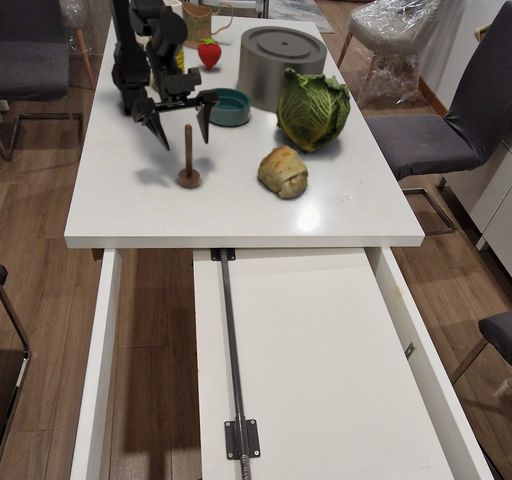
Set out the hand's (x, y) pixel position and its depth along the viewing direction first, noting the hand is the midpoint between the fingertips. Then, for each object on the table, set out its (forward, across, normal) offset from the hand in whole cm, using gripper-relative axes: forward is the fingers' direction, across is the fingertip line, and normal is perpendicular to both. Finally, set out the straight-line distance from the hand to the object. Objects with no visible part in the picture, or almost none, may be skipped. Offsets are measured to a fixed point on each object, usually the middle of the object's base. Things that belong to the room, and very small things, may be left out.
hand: (188, 147), depth 93 cm
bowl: (-12, +23, +24) cm, 35 cm away
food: (-26, +14, +38) cm, 48 cm away
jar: (-41, +13, +53) cm, 68 cm away
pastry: (+12, +21, 0) cm, 24 cm away
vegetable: (+2, +38, +11) cm, 39 cm away
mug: (-45, +39, +56) cm, 82 cm away
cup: (-39, +22, +51) cm, 68 cm away
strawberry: (-31, +31, +43) cm, 61 cm away
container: (-17, +45, +29) cm, 56 cm away
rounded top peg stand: (+6, 0, +6) cm, 8 cm away
